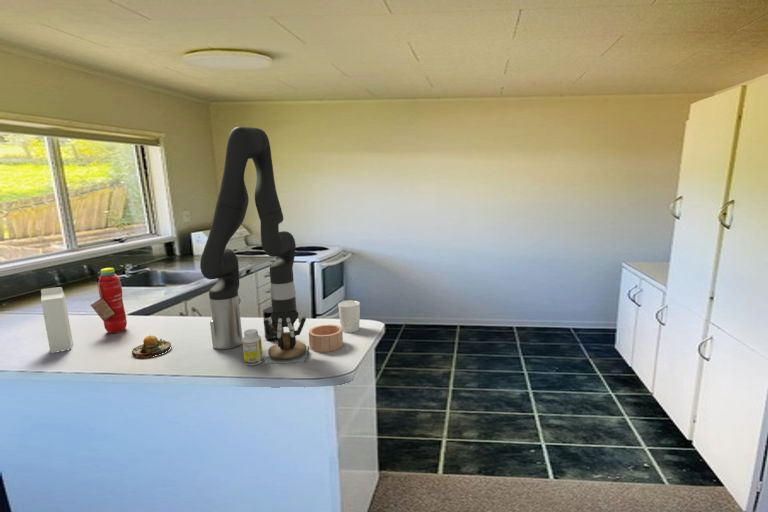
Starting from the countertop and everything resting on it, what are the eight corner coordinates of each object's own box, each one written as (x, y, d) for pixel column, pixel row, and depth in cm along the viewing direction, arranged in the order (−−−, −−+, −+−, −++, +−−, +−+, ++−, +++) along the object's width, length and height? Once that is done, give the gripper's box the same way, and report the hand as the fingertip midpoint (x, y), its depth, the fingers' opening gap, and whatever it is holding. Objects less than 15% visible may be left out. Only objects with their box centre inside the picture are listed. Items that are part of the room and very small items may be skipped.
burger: (175, 344, 158) (173, 324, 157) (165, 357, 146) (163, 335, 145) (139, 347, 156) (136, 327, 155) (126, 361, 144) (123, 339, 143)
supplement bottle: (256, 357, 143) (253, 326, 141) (266, 361, 139) (263, 330, 137) (240, 363, 139) (237, 331, 137) (251, 367, 135) (248, 335, 133)
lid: (265, 360, 137) (263, 341, 136) (271, 345, 149) (270, 328, 148) (304, 357, 138) (303, 339, 137) (308, 343, 149) (306, 326, 148)
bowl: (308, 353, 144) (307, 337, 143) (311, 340, 155) (310, 325, 154) (342, 351, 145) (341, 334, 144) (343, 338, 156) (342, 323, 155)
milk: (71, 349, 156) (61, 288, 152) (50, 353, 153) (39, 291, 149) (73, 344, 161) (63, 285, 157) (52, 348, 158) (42, 287, 154)
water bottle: (108, 338, 165) (98, 272, 161) (91, 337, 168) (81, 272, 163) (134, 327, 177) (125, 265, 172) (118, 326, 179) (109, 265, 174)
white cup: (357, 333, 161) (356, 306, 159) (336, 332, 162) (335, 306, 161) (363, 326, 168) (362, 300, 167) (343, 325, 170) (341, 300, 168)
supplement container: (279, 333, 164) (277, 305, 162) (287, 338, 159) (285, 309, 157) (262, 337, 160) (259, 309, 159) (269, 342, 155) (266, 314, 153)
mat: (265, 364, 137) (265, 362, 137) (272, 349, 149) (272, 348, 149) (305, 361, 138) (305, 360, 138) (308, 346, 150) (308, 345, 150)
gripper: (258, 300, 136) (262, 353, 139) (304, 297, 137) (308, 350, 140) (262, 293, 143) (267, 344, 146) (306, 291, 144) (310, 342, 147)
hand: (287, 347), depth 143 cm, fingers closed on lid, 2 cm apart
